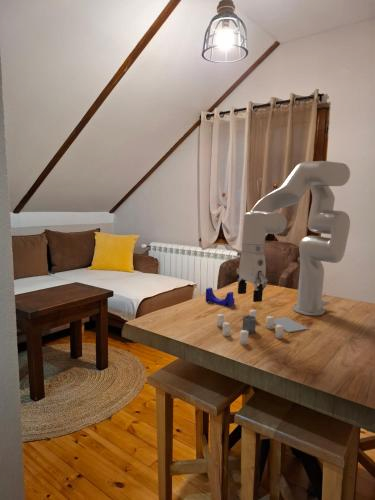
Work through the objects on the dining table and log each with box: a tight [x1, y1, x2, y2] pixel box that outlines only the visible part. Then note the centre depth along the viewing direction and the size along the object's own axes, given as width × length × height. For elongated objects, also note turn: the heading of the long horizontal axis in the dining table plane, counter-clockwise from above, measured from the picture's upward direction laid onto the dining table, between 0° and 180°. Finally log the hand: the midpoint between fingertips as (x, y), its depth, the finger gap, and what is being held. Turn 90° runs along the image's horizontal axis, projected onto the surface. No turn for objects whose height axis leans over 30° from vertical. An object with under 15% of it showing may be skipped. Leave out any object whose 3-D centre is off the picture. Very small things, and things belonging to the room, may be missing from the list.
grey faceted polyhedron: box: [241, 314, 257, 335], centre depth 122 cm, size 5×4×5 cm
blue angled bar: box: [205, 286, 235, 308], centre depth 153 cm, size 12×4×6 cm, turn 56°
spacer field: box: [216, 309, 284, 346], centre depth 122 cm, size 21×19×4 cm
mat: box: [274, 317, 309, 334], centre depth 129 cm, size 9×12×1 cm
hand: (249, 297), depth 120 cm, fingers open, 9 cm apart
